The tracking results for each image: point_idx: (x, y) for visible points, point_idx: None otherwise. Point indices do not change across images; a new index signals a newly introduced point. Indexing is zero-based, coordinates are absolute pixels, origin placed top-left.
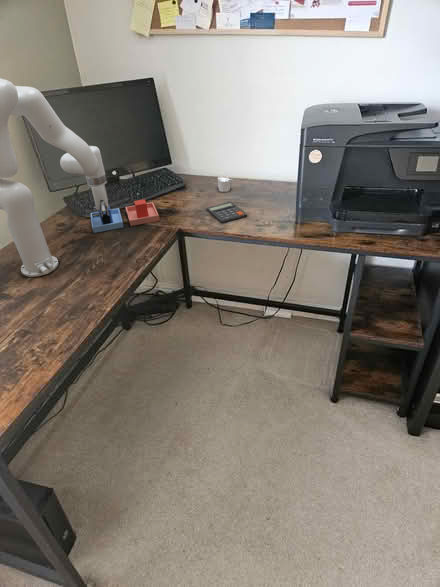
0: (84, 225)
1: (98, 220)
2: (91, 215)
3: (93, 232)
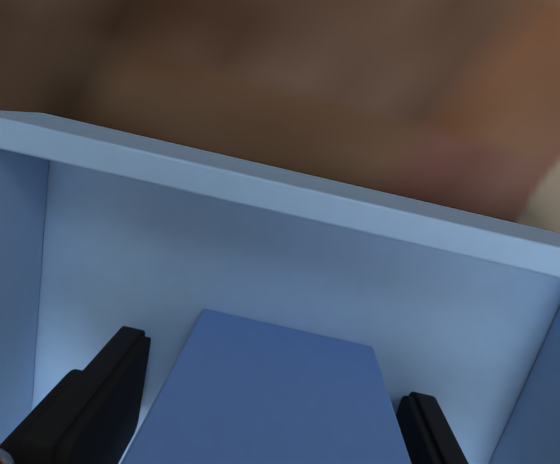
0: (424, 52)
1: (401, 307)
2: (554, 264)
3: (36, 113)
